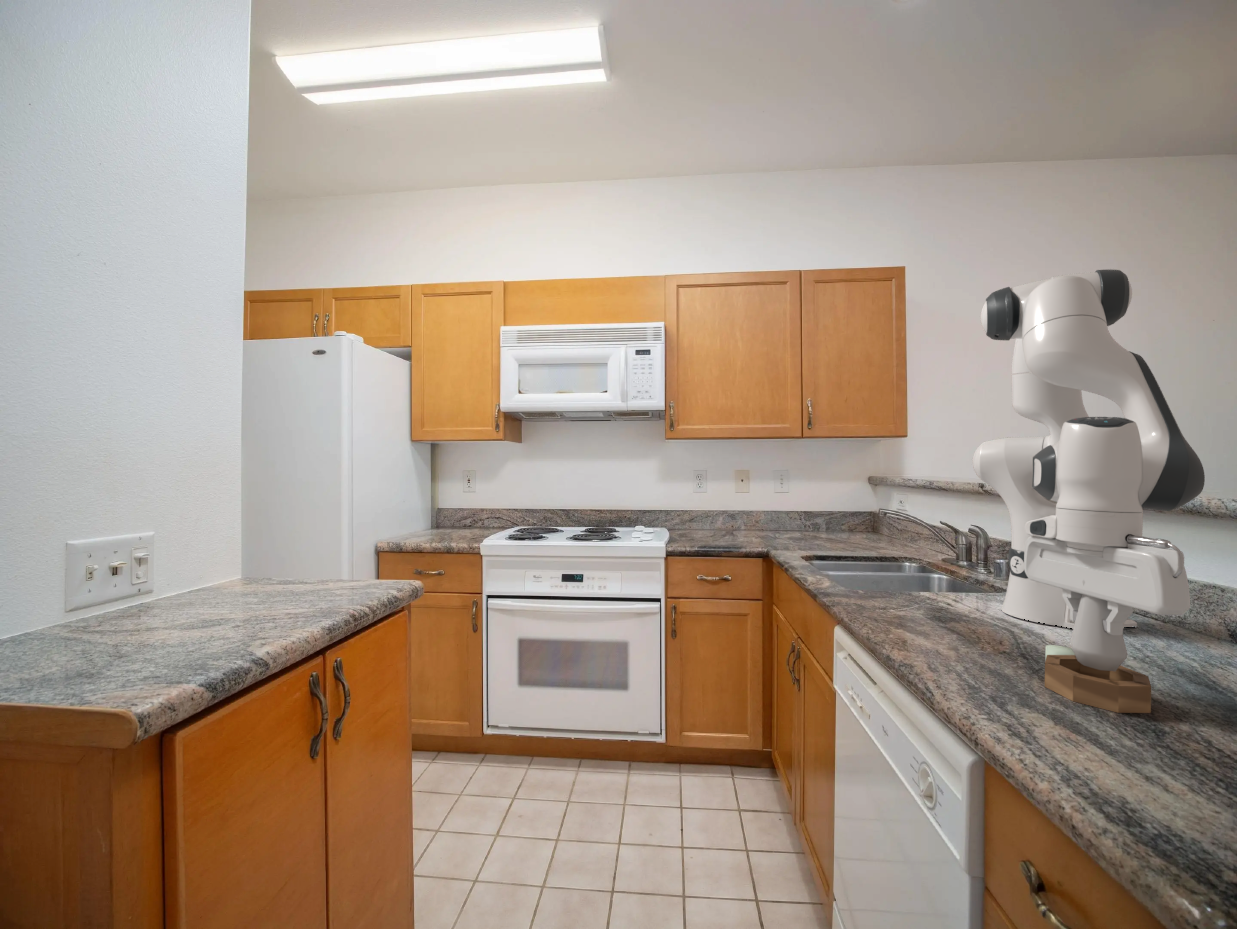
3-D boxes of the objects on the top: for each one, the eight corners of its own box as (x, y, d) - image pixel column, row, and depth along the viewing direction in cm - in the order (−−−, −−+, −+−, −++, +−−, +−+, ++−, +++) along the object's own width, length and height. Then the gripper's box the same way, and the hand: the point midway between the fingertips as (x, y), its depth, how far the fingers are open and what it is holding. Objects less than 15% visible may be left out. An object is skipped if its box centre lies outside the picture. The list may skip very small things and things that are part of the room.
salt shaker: (1139, 676, 66) (1140, 579, 66) (1089, 671, 67) (1090, 576, 67) (1105, 659, 72) (1106, 570, 72) (1060, 655, 73) (1061, 568, 73)
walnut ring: (1094, 678, 75) (1094, 655, 75) (1173, 713, 64) (1174, 686, 64) (1026, 677, 75) (1026, 654, 75) (1095, 712, 64) (1095, 685, 64)
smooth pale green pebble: (1064, 663, 81) (1064, 645, 81) (1090, 674, 77) (1090, 655, 77) (1037, 663, 81) (1038, 644, 81) (1062, 674, 76) (1063, 655, 76)
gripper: (1208, 542, 59) (1206, 657, 59) (1054, 522, 80) (1052, 608, 80) (1157, 541, 59) (1155, 656, 59) (1016, 521, 80) (1014, 607, 80)
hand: (1095, 628), depth 70 cm, fingers closed on salt shaker, 3 cm apart
